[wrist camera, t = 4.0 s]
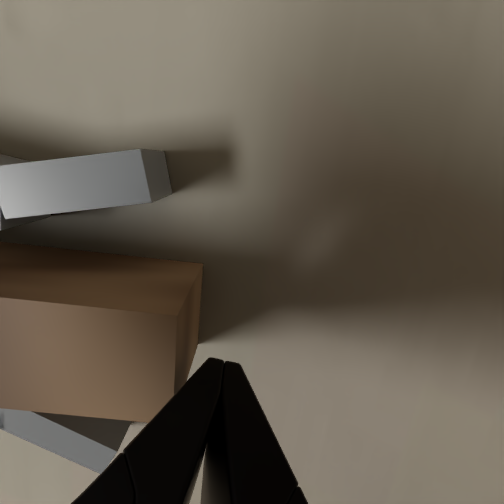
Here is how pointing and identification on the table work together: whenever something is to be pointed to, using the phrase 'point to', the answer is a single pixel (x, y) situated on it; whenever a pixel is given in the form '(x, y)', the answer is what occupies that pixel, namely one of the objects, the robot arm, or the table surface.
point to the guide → (67, 200)
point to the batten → (95, 331)
